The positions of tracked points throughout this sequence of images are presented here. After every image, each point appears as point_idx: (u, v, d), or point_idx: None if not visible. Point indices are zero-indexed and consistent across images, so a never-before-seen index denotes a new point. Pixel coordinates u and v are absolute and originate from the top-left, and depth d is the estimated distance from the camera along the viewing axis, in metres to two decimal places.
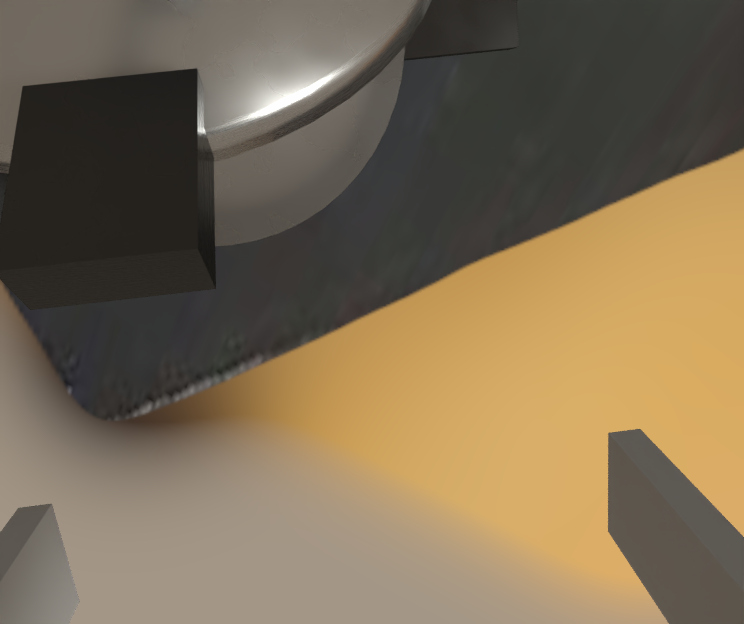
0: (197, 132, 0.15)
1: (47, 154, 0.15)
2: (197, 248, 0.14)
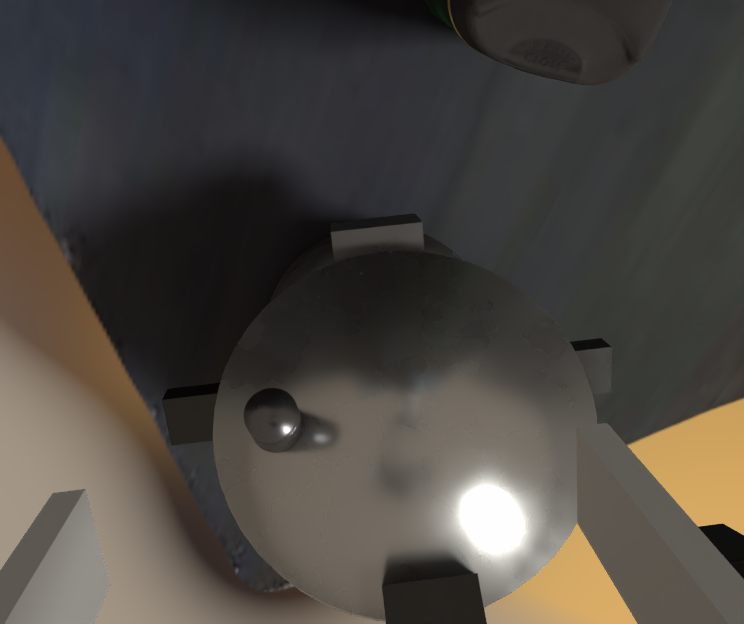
0: (486, 623, 0.28)
1: None
2: None
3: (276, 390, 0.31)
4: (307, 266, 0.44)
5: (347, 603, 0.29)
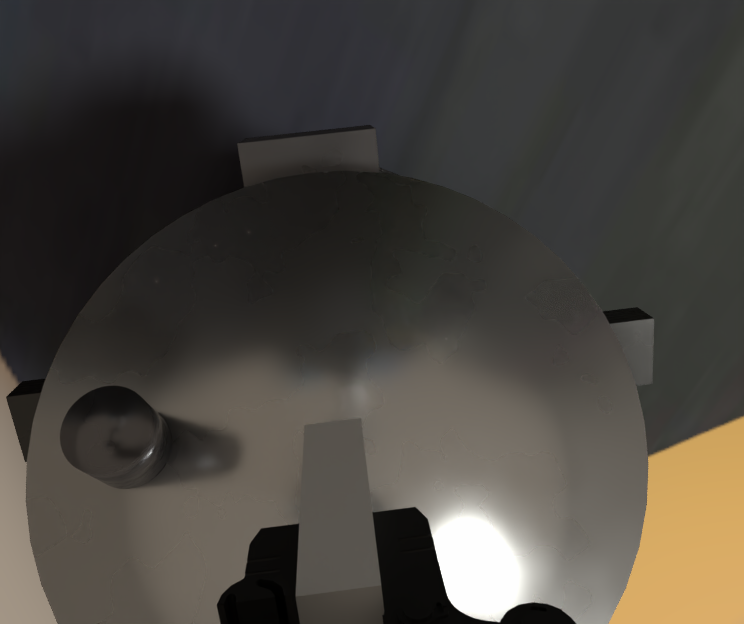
0: None
1: None
2: None
3: (119, 389, 0.19)
4: None
5: None
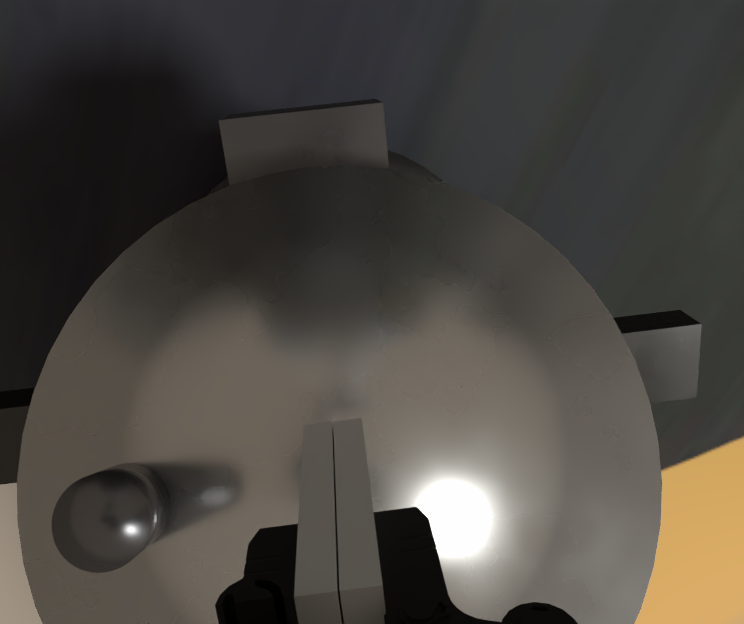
0: None
1: None
2: None
3: (109, 478, 0.17)
4: None
5: None
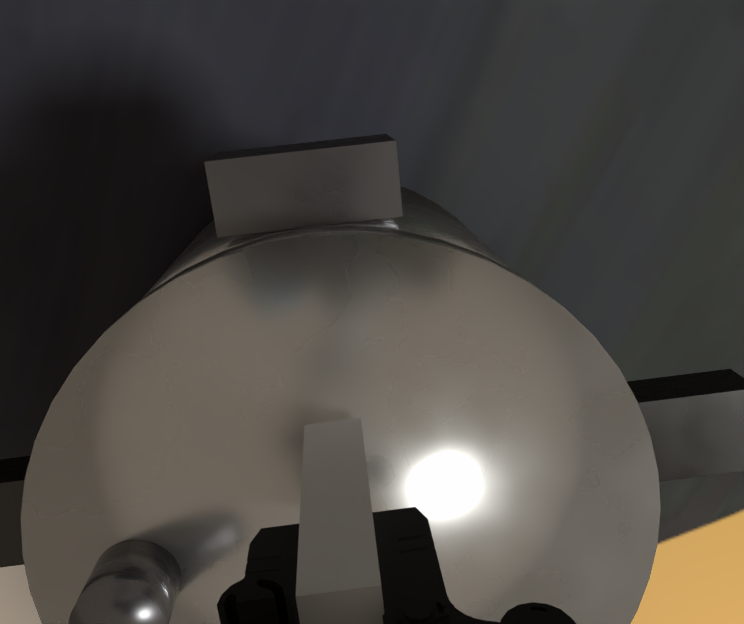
0: None
1: None
2: None
3: (121, 590, 0.17)
4: (197, 241, 0.24)
5: None
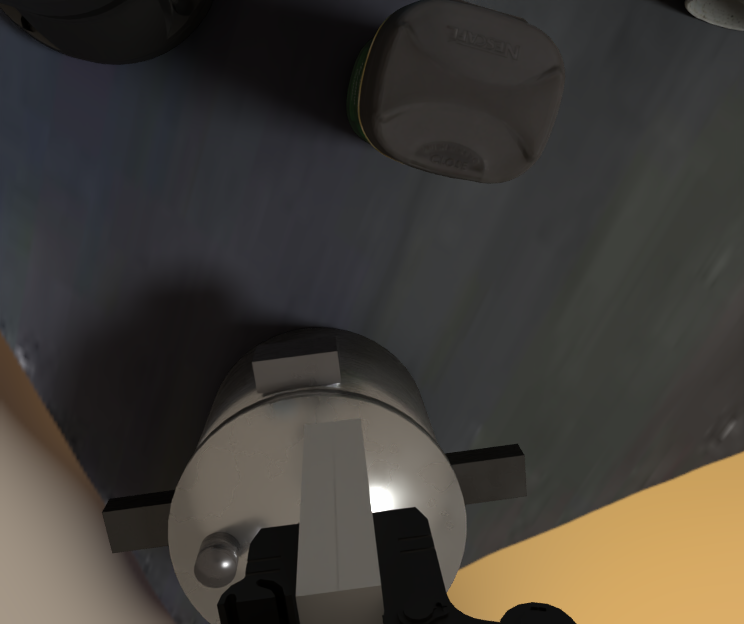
0: None
1: None
2: None
3: (217, 552, 0.39)
4: (242, 377, 0.47)
5: None
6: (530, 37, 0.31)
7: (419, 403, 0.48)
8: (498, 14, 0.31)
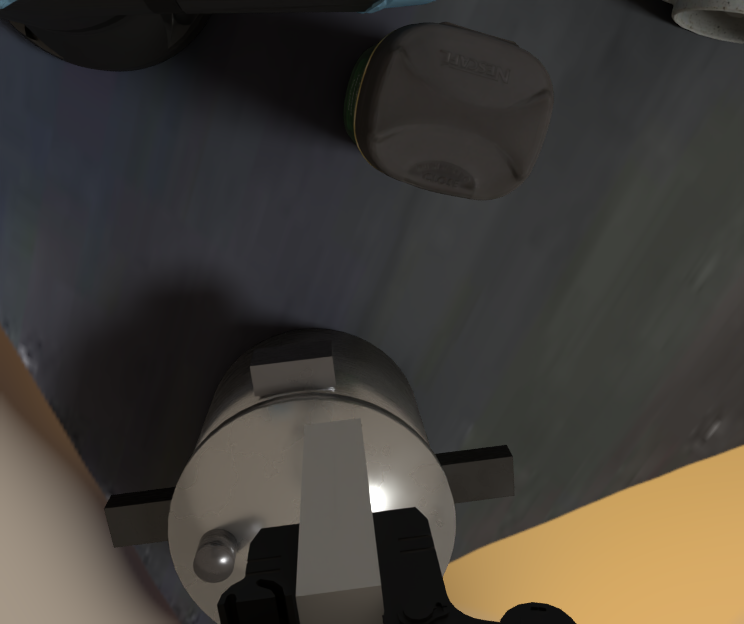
0: None
1: None
2: None
3: (215, 549, 0.41)
4: (240, 378, 0.48)
5: None
6: (520, 60, 0.32)
7: (412, 404, 0.49)
8: (490, 38, 0.32)
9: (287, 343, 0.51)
